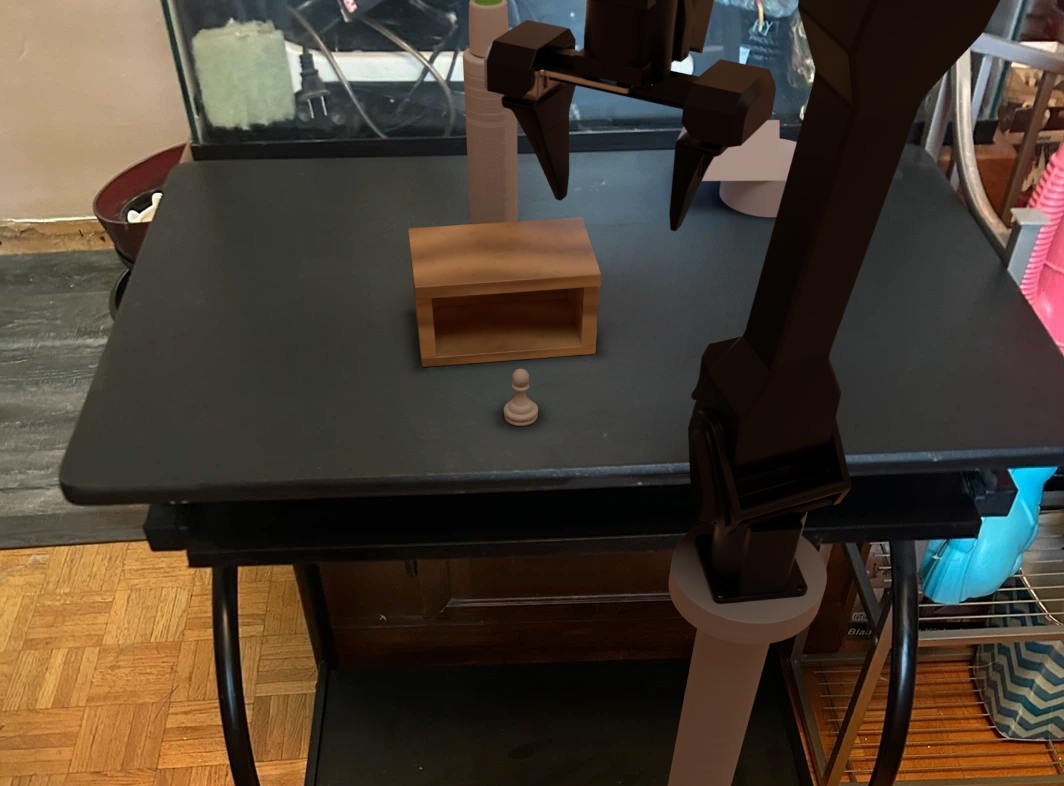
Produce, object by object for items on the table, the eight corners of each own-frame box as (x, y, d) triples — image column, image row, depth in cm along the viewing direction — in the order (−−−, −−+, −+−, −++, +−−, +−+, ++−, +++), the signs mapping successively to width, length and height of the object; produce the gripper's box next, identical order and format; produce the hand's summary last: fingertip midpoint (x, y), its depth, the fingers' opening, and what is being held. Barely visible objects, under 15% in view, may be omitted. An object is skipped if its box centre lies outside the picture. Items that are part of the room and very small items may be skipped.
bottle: (526, 243, 94) (525, -16, 78) (482, 253, 92) (471, -7, 77) (507, 222, 96) (502, -33, 80) (464, 231, 95) (450, -25, 79)
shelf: (596, 357, 82) (601, 274, 77) (422, 370, 81) (414, 287, 76) (578, 298, 88) (582, 216, 82) (415, 310, 87) (407, 228, 81)
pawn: (497, 412, 78) (496, 365, 74) (527, 402, 78) (527, 355, 75) (514, 431, 76) (513, 384, 73) (544, 420, 77) (545, 373, 74)
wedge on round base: (682, 217, 96) (820, 217, 96) (691, 141, 91) (837, 141, 91) (674, 174, 102) (804, 173, 102) (682, 100, 97) (819, 99, 97)
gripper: (830, -64, 62) (781, 197, 75) (563, -106, 68) (558, 142, 81) (760, -9, 57) (720, 264, 69) (475, -60, 62) (484, 200, 75)
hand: (617, 213), depth 73 cm, fingers open, 9 cm apart
